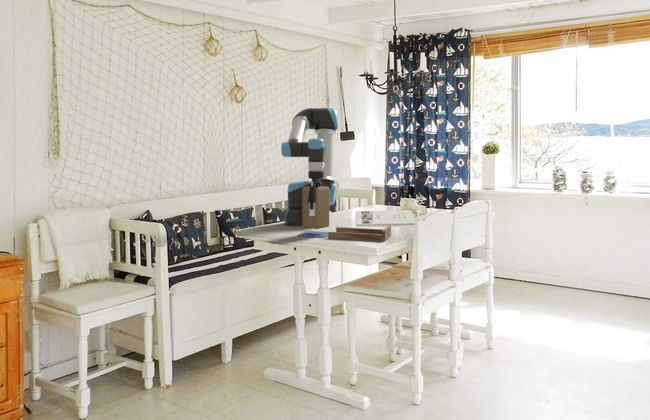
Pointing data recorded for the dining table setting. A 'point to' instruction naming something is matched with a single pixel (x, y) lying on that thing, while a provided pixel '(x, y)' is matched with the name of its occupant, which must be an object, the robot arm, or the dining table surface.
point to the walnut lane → (361, 234)
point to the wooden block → (316, 208)
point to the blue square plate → (314, 234)
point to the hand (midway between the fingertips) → (316, 214)
